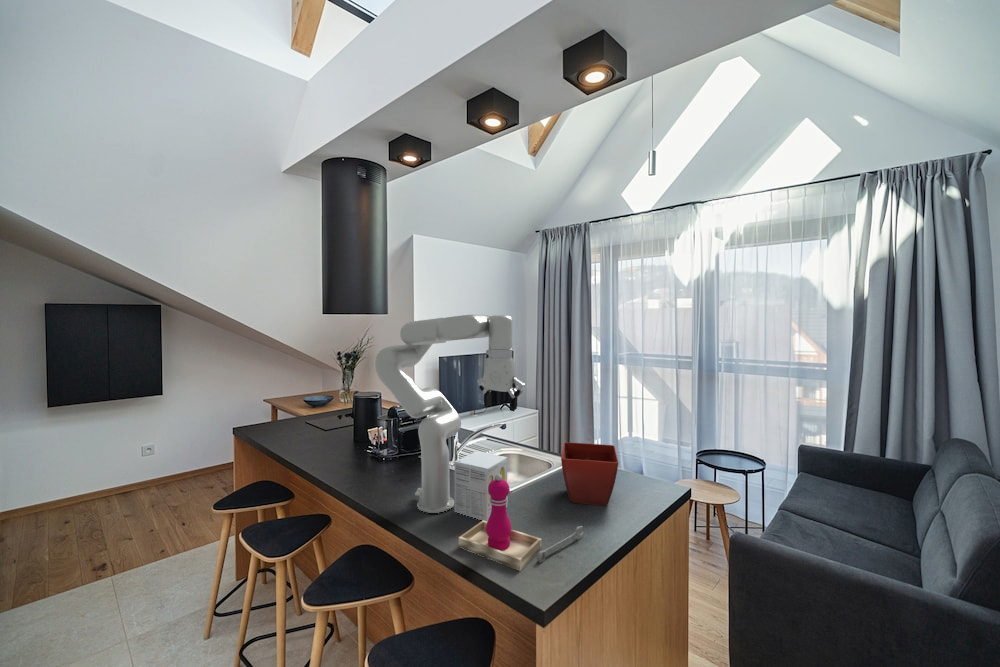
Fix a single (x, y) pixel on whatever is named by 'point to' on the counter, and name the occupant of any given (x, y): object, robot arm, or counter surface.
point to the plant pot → (589, 472)
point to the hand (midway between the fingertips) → (500, 408)
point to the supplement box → (477, 483)
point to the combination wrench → (560, 544)
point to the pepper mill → (498, 515)
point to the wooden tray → (513, 556)
